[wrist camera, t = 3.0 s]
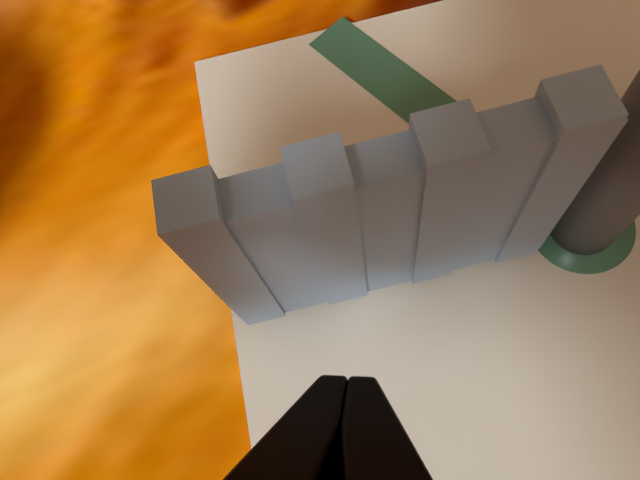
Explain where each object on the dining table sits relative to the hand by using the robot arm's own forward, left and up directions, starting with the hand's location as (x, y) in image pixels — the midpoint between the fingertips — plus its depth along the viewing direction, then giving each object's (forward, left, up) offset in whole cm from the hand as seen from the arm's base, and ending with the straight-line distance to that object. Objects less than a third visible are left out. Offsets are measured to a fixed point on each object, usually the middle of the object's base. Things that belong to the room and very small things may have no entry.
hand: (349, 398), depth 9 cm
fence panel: (+4, -2, -8) cm, 9 cm away
